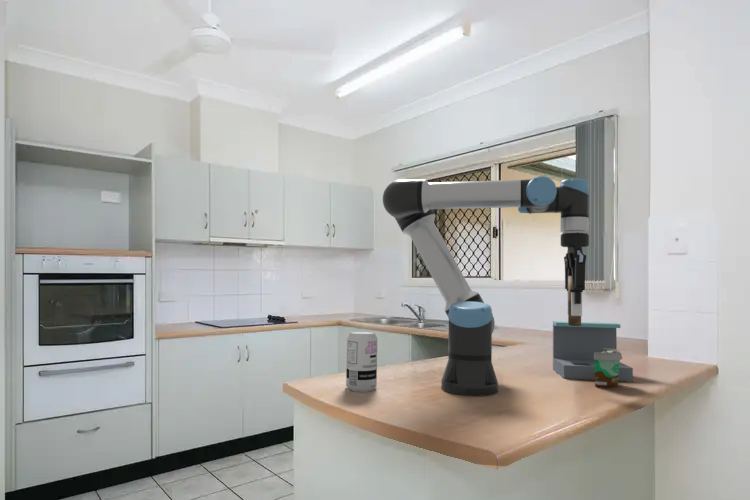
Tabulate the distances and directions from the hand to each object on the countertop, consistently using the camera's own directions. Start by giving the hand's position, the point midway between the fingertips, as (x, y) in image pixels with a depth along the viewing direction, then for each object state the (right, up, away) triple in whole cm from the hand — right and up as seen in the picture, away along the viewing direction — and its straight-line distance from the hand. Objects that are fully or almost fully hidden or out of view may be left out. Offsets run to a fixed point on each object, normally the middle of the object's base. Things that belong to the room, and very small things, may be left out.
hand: (574, 314), depth 137 cm
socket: (+12, -21, +16) cm, 30 cm away
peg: (0, -3, 0) cm, 3 cm away
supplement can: (-61, -19, -8) cm, 64 cm away
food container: (+11, -21, +2) cm, 24 cm away
